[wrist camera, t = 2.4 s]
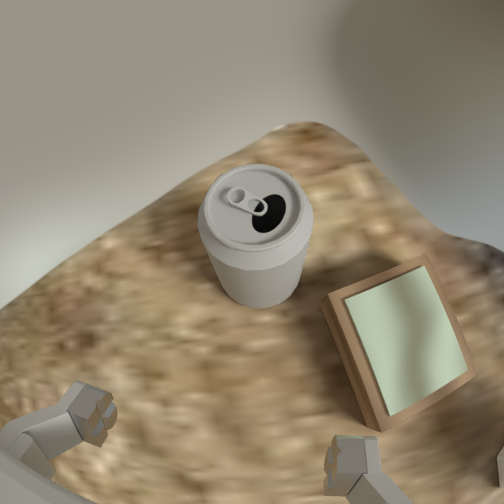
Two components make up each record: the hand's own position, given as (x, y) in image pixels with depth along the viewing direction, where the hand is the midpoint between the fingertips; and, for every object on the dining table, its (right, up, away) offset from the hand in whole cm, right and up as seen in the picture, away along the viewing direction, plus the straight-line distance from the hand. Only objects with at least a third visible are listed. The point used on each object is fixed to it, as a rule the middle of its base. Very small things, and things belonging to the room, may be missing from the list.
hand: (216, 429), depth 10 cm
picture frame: (+14, -2, +16) cm, 22 cm away
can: (+2, +4, +20) cm, 21 cm away
